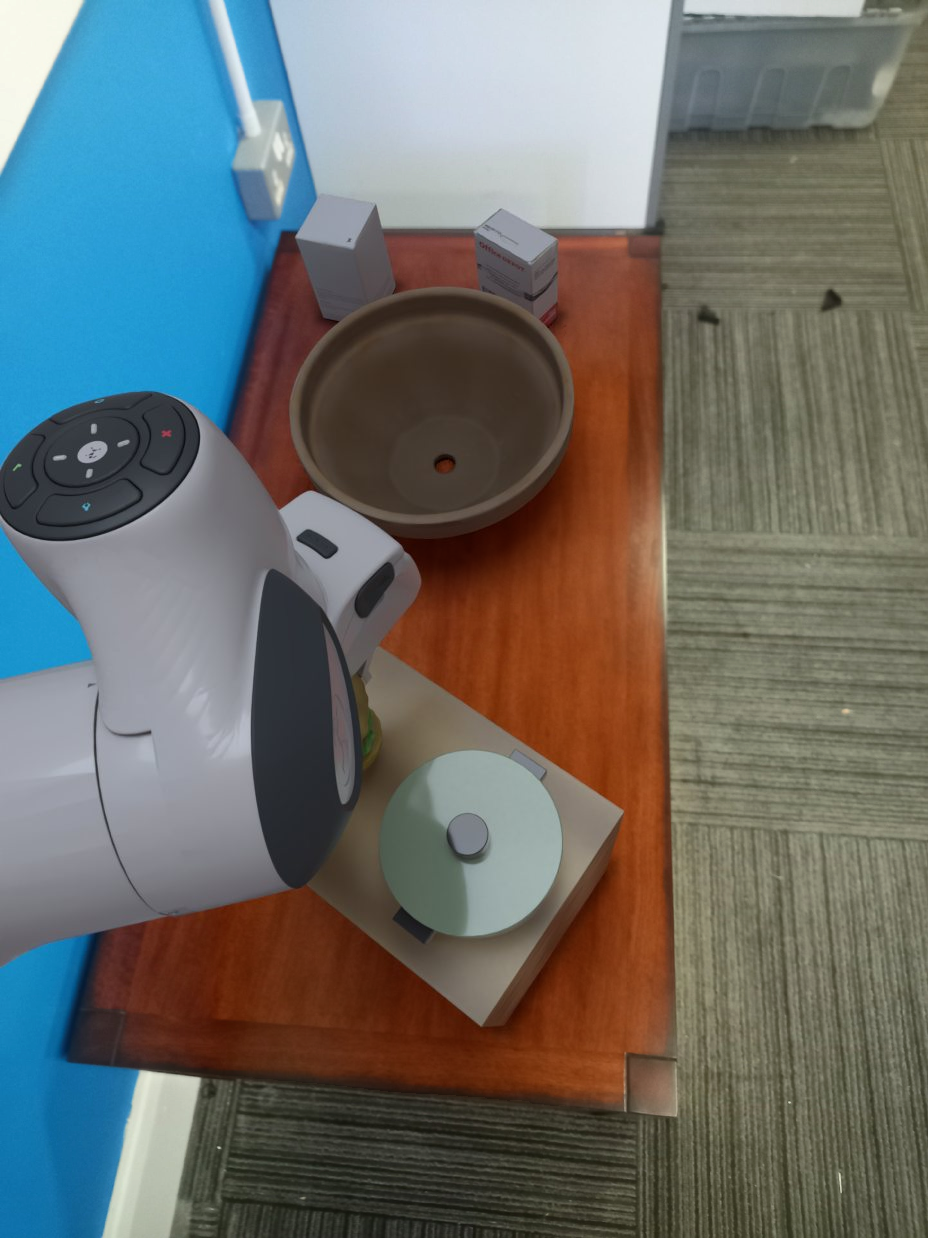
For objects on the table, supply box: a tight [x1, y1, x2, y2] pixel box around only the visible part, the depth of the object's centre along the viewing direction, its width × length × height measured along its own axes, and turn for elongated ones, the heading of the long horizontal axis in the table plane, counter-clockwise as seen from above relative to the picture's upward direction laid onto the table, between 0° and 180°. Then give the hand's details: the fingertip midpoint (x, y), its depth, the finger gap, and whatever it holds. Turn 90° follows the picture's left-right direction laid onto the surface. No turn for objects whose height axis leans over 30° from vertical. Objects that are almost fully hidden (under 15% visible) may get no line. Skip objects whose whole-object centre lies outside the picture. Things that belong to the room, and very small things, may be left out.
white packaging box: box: [294, 193, 397, 322], centre depth 105 cm, size 7×7×13 cm
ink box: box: [473, 207, 559, 328], centre depth 102 cm, size 8×5×12 cm, turn 48°
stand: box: [305, 644, 626, 1028], centre depth 70 cm, size 16×23×24 cm
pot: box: [379, 749, 563, 946], centre depth 54 cm, size 12×11×8 cm
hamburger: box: [351, 673, 382, 772], centre depth 55 cm, size 8×7×12 cm
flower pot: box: [288, 286, 575, 540], centre depth 93 cm, size 28×28×13 cm
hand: (316, 728), depth 56 cm, fingers closed on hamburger, 6 cm apart
